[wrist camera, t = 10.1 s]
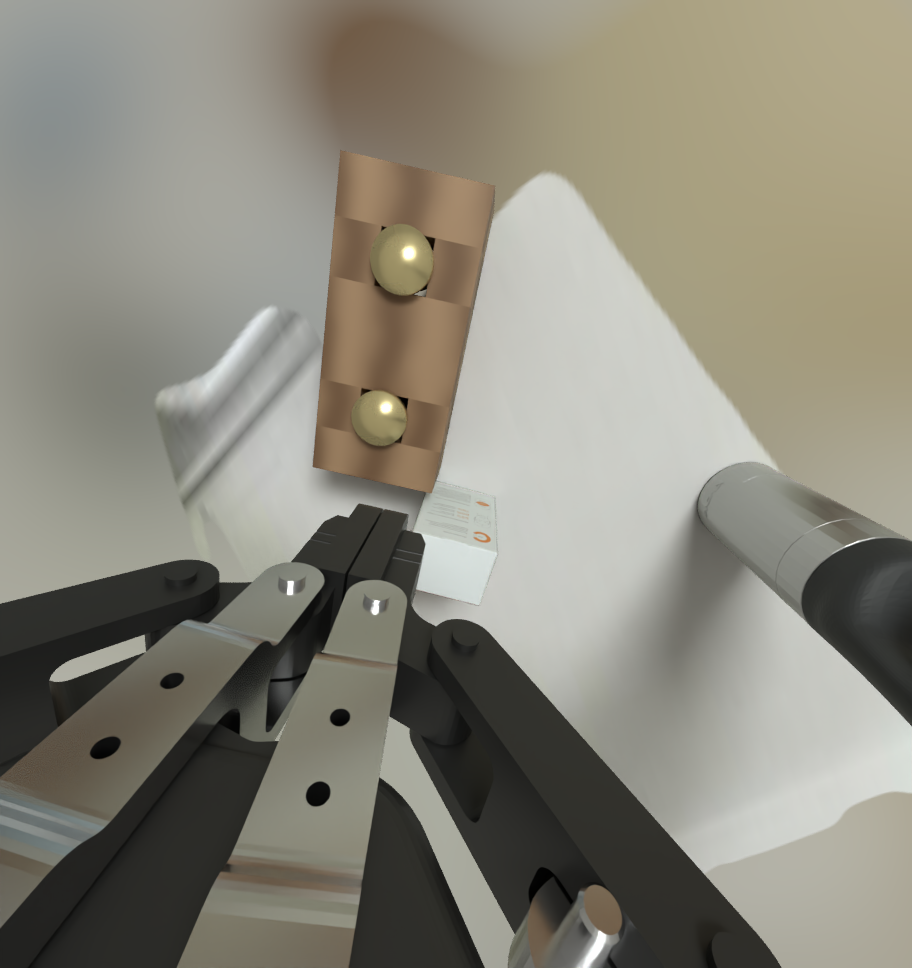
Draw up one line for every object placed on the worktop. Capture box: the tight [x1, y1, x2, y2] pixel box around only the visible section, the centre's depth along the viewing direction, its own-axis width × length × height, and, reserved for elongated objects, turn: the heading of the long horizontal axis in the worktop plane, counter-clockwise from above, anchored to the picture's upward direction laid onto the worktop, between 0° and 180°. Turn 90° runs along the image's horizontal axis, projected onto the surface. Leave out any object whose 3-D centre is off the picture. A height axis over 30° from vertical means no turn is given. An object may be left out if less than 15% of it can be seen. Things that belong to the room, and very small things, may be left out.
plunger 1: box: [370, 224, 434, 296], centre depth 37 cm, size 5×5×8 cm
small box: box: [412, 481, 498, 606], centre depth 45 cm, size 8×6×13 cm
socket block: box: [313, 151, 495, 493], centre depth 40 cm, size 12×26×8 cm, turn 168°
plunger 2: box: [351, 390, 409, 446], centre depth 42 cm, size 5×5×8 cm
